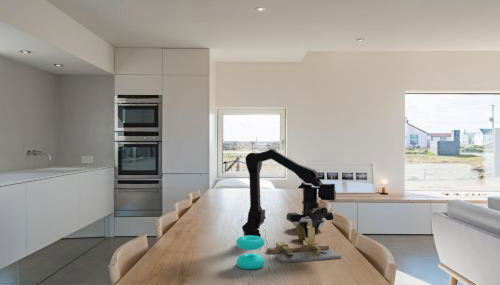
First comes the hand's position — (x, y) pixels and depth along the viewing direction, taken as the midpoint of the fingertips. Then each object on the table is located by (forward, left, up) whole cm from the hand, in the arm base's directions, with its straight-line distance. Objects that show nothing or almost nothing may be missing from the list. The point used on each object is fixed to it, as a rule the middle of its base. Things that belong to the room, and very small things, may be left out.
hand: (309, 237), depth 157 cm
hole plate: (-5, -10, -5) cm, 12 cm away
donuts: (-29, -14, -5) cm, 33 cm away
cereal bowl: (+14, +34, -5) cm, 37 cm away
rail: (-5, -4, -5) cm, 8 cm away
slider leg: (0, -4, -4) cm, 5 cm away
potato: (+4, +14, -5) cm, 15 cm away
